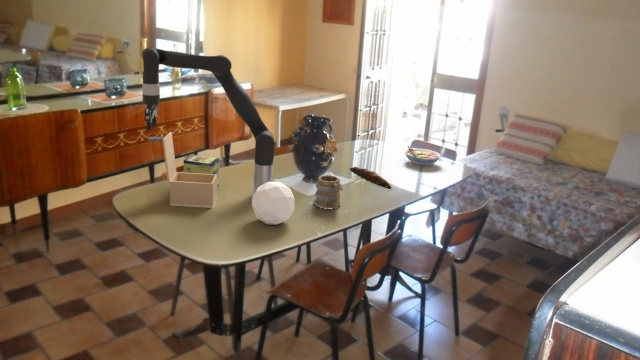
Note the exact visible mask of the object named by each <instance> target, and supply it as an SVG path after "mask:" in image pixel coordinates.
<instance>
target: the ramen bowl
mask: <svg viewBox="0 0 640 360" xmlns="http://www.w3.org/2000/svg"><path fill="white" fill-rule="evenodd" d="M407 148H408V149H405V150H404V154H405V156H406V158H407V159H408V160H409V161H410V162H411V163H412V164H415V165H416V166H419V167H426V166H431V165H433V164H435V163H436V162H438V161H439V159H440V158H441V154H440V153H439V152H437V151H434V150H430V149H427V148H413V147H412V146H409V145H407Z"/></svg>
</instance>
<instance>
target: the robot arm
mask: <svg viewBox="0 0 640 360" xmlns="http://www.w3.org/2000/svg"><path fill="white" fill-rule="evenodd" d="M141 59H142V62H143V63H142V65H143V67H142V68H143V71H142V87H141V88H142V90H141V91H142V104H143V105H146V108H145V107H144V109H143V110H144V122H146V125H145V126H146V130H147V131H152V130H153V128H152V127H156V126H157V125H158V123H157V122H158V121H157V119H158V117H159V104H160V102H161V101H160V100H161V99H160V98H161V96H160V95H161V93H160V92H161V91H160V89H161V88H160V76H159V72H160V65H163V66H166V67H170V68H177V69H178V68H179V69H190V70H191V69H192V70H193V69H194V70H201V71H208V72H211V73H212V76H214V78H215V79H216V80H217V81H218V82H219V84H220V85H221V87H222V89H223V90H224V93H225V95H226V96H227V98H228V99H229V101H230V104H231V106H232V107H233V109H234V110H235V112H236V113H237V115H238V116H239V117H240V119H241V121H243V122H244V123H245V124H246V125H247V127H248V128H249V129H250V132H251V134H252V136H253V138H254V140H255V144H254V145H255V146H254V147H255V149H254V167H253V168H254V169H253V170H254V171H253V173H254V174H253V190H252V191H253V194H252V196H253V195H254V193H255V192H256V190H257V189H258V187H259V186H261V185H263V184H265V183H267V182H274V181H273V180H274V177H273V173H274V172H273V170H274V158H275V139H274V135H273V133H272V132H271V131H270V130H269V128H268V127H267V126H266V124H265V122H264V121H263V120H262V117H261V116H260V114H259V112H258V110H257V108H256V106H255V104H254V102H253V100H252V98H251V97H250V95H249V93H248V92H247V91H246V89H244V87H243V86H242V85H241V84H240V82H238V81H237V79H236V78H235V76H234V74H233V72H232V71H231V70H232V67H233V66H232V61H231V60H230V59H229V57H227V56H226V55H222V54H219V55H218V54H217V55H199V54H191V53H187V52H182V51H172V50H164V49H161V48H156V47H155V48H154V47H146V48H144V49H143V50H142V51H141Z"/></svg>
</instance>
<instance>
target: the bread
mask: <svg viewBox="0 0 640 360" xmlns="http://www.w3.org/2000/svg"><path fill="white" fill-rule="evenodd" d="M349 170H351V171H352V172H353V173H355V172H356V174H357V173H358V174H357V175H359V176H361V177H363V176H364V177H363V178H365V179H367V178H368V179H367V180H369V179H370V181H371V180H372V181H371V182H373V181H374V182H373V183H376V182H377V183H376V184H378V183H379V184H378V185H380V184H381V185H380V186H382V185H384V186H383V187H385V186H387V187H390V188H392V186H391V184H390V183H389V182H388V181H387V180H386V179H385V178H383V177H382V176H379V174H378V173H376V172H374V171H372V170H369V169H366V168H361V167H358V166H353V167H350V168H349ZM387 187H386V188H387ZM390 188H389V189H390Z"/></svg>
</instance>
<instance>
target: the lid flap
mask: <svg viewBox="0 0 640 360" xmlns="http://www.w3.org/2000/svg"><path fill="white" fill-rule="evenodd" d="M147 140H148V142H149V143H151V142H152V143H153V142H155V143H157V142H162V147H163V156H164V163H165V170H166V176H167V179H166V180H167V182H170V180H171V179H172V177H173V176H174V175H175V173H176V172H177V165H176V157H175V149H174V142H173V140H174V139H173V132H172V131H170V132H168V133H167V135H166V136H150V137H149V138H148V139H147Z"/></svg>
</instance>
